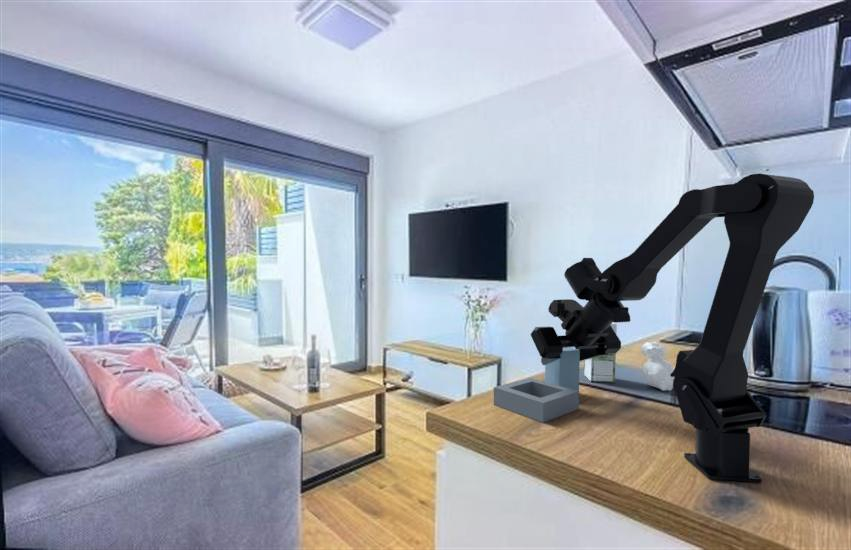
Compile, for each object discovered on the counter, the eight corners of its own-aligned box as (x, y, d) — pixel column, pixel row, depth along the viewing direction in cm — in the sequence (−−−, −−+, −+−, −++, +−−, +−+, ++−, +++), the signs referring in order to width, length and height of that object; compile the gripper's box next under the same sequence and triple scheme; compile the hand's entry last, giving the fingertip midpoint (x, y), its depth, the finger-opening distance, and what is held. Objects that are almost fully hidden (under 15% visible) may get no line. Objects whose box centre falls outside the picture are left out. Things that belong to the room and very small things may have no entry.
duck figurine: (662, 389, 99) (632, 349, 103) (692, 375, 95) (659, 334, 99) (652, 402, 89) (619, 357, 93) (684, 386, 85) (649, 340, 90)
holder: (578, 409, 78) (579, 391, 78) (542, 422, 71) (543, 403, 71) (529, 393, 87) (530, 377, 87) (493, 404, 80) (493, 387, 80)
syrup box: (607, 376, 102) (608, 319, 101) (615, 383, 96) (617, 322, 95) (583, 375, 102) (584, 318, 102) (590, 382, 96) (592, 322, 96)
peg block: (578, 396, 86) (579, 349, 85) (559, 398, 84) (559, 351, 84) (563, 389, 90) (564, 345, 90) (544, 391, 89) (545, 346, 89)
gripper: (612, 287, 86) (576, 330, 97) (536, 287, 80) (507, 333, 91) (641, 329, 79) (599, 371, 89) (561, 333, 73) (526, 377, 83)
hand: (558, 362), depth 88 cm, fingers open, 8 cm apart
